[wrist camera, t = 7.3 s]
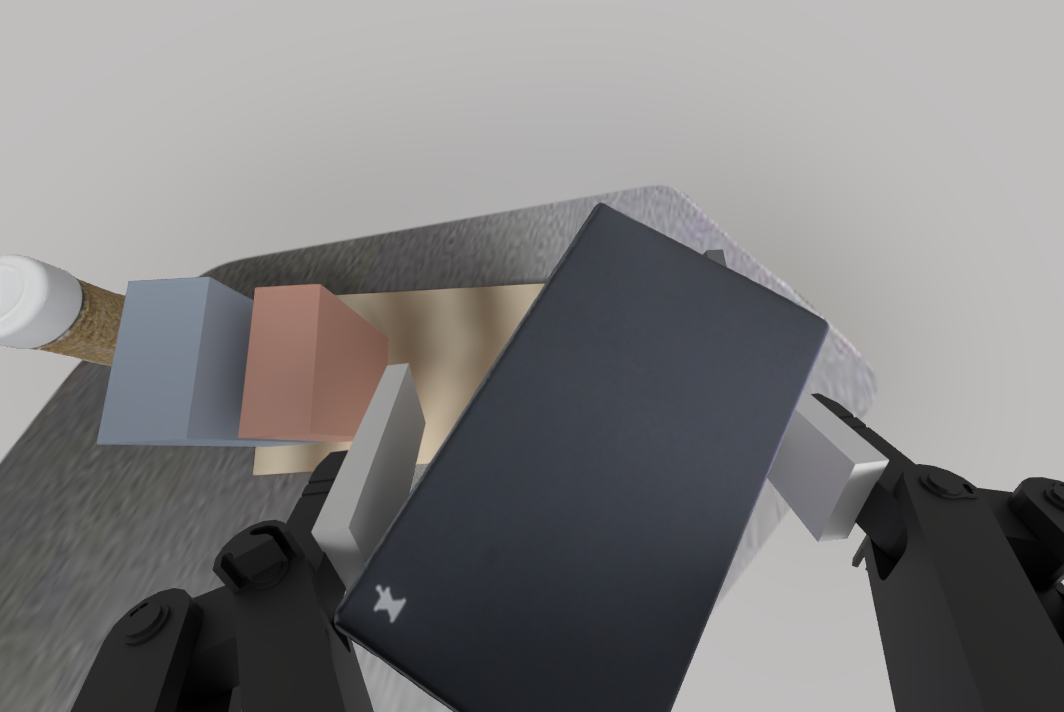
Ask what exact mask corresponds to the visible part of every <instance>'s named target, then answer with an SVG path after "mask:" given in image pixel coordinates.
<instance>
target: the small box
mask: <svg viewBox="0 0 1064 712" xmlns="http://www.w3.org/2000/svg"><path fill="white" fill-rule="evenodd" d="M828 331H829V324H828V323H827V322H826V320H824V319H822V318H820V317H819V316H817V315H815V314H814V313H812V312H810V311H809V310H807V309H805V308H803V307H802V306H800V305H798V304H796V303H795V302H793V301H791V300H789V299H787V298H785V297H783V296H781V295H779V294H777V293H775V292H773V291H772V290H770V289H768V288H767V287H765V286H763V285H761V284H758V283H756V282H754V281H752V280H750V279H749V278H747V277H746V276H743V275H741V274H739V273H737V272H735V271H733V270H731V269H729V268H727V267H726V266H724V265H723V264H721V263H719V262H716V261H714V260H712V259H710V258H708V257H706V256H704V255H702V254H700V253H698V252H696V251H695V250H693V249H691V248H689V247H687V246H685V245H683V244H681V243H679V242H677V241H675V240H674V239H672V238H670V237H668V236H666V235H664V234H662V233H660V232H658V231H656V230H654V229H652V228H650V227H648V226H646V225H644V224H642V223H640V222H638V221H636V220H634V219H632V218H630V217H629V216H627V215H625V214H623V213H621V212H619V211H617V210H615V209H613V208H611V207H609V206H608V205H606V204H604V203H601V202H600V203H599V204H597V205H596V206H595V207H594V209H593V210H592V212H591V214H590V215H589V217H588V218H587V220H586V221H585V223H584V224H583V226H582V227H581V229H580V230H579V232H578V233H577V235H576V237H575V238H574V240H573V241H572V243H571V244H570V246H569V247H568V249H567V250H566V252H565V254H564V255H563V257H562V258H561V260H560V261H559V263H558V264H557V266H556V267H555V269H554V270H553V272H552V273H551V275H550V276H549V278H548V280H547V281H546V283H545V285H544V286H543V288H542V290H541V291H540V293H539V295H538V296H537V297H536V299H535V300H534V301H533V303H532V305H531V306H530V308H529V309H528V311H527V313H526V314H525V316H524V317H523V319H522V320H521V322H520V323H519V325H518V326H517V328H516V329H515V331H514V333H513V334H512V336H511V337H510V339H509V340H508V342H507V343H506V345H505V346H504V348H503V349H502V351H501V352H500V354H499V355H498V357H497V358H496V360H495V361H494V363H493V365H492V366H491V368H490V369H489V371H488V373H487V374H486V376H485V377H484V379H483V381H482V382H481V384H480V385H479V387H478V388H477V390H476V391H475V393H474V394H473V396H472V398H471V400H470V402H469V403H468V404H467V406H466V407H465V409H464V410H463V412H462V413H461V415H460V416H459V418H458V420H457V421H456V423H455V425H454V427H453V428H452V430H451V431H450V433H449V434H448V436H447V437H446V439H445V440H444V442H443V443H442V445H441V446H440V448H439V449H438V451H437V452H436V454H435V455H434V457H433V459H432V460H431V462H430V463H429V465H428V466H427V468H426V470H425V471H424V473H423V475H422V476H421V478H420V479H419V481H418V482H417V484H416V485H415V487H414V488H413V489H412V491H411V493H410V494H409V496H408V497H407V499H406V500H405V502H404V503H403V505H402V506H401V508H400V510H399V511H398V513H397V514H396V516H395V518H394V519H393V521H392V522H391V524H390V525H389V527H388V529H387V530H386V532H385V533H384V535H383V537H382V538H381V540H380V541H379V543H378V544H377V545H376V547H375V548H374V550H373V552H372V555H371V556H370V558H369V559H368V560H367V561H366V563H365V565H364V566H363V568H362V570H361V571H360V573H359V574H358V576H357V577H356V579H355V580H354V582H353V584H352V585H351V587H350V588H349V590H348V591H347V593H346V594H345V596H344V597H343V599H342V600H341V602H340V604H339V605H338V607H337V609H336V611H335V613H334V624H335V628H336V629H337V630H338V631H339V632H340V633H341V634H343V635H345V636H347V637H348V638H350V639H351V640H352V641H354V642H355V643H357V644H358V645H360V646H362V647H363V648H365V649H366V650H367V651H369V652H370V653H371V654H373V655H375V656H377V657H379V658H380V659H381V660H383V661H384V662H385V663H387V664H388V665H389V666H391V667H392V668H393V669H394V670H396V671H397V672H398V673H400V674H401V675H403V676H404V677H406V678H407V679H409V680H410V681H411V682H413V683H414V684H415V685H416V686H418V687H419V688H420V689H422V690H423V691H424V692H426V693H427V694H428V695H430V696H431V697H433V698H434V699H436V700H437V701H439V702H440V703H442V704H443V705H445V706H446V707H448V708H449V709H450V710H452V711H453V712H671V710H672V707H673V704H674V702H675V699H676V697H677V695H678V692H679V690H680V687H681V685H682V682H683V680H684V677H685V675H686V672H687V670H688V667H689V665H690V663H691V660H692V658H693V655H694V653H695V650H696V648H697V646H698V643H699V641H700V638H701V636H702V633H703V631H704V628H705V626H706V624H707V621H708V619H709V616H710V614H711V611H712V609H713V607H714V604H715V602H716V599H717V597H718V594H719V592H720V590H721V587H722V585H723V582H724V580H725V577H726V575H727V573H728V570H729V568H730V565H731V563H732V560H733V558H734V556H735V553H736V551H737V548H738V546H739V543H740V541H741V538H742V536H743V533H744V531H745V529H746V526H747V524H748V521H749V519H750V517H751V514H752V512H753V510H754V507H755V505H756V503H757V500H758V498H759V496H760V493H761V491H762V488H763V486H764V484H765V481H766V479H767V476H768V474H769V472H770V469H771V467H772V464H773V462H774V460H775V457H776V455H777V452H778V450H779V448H780V445H781V443H782V440H783V438H784V436H785V433H786V431H787V428H788V426H789V424H790V421H791V419H792V416H793V414H794V412H795V409H796V407H797V405H798V402H799V400H800V398H801V395H802V393H803V390H804V388H805V386H806V383H807V381H808V379H809V376H810V374H811V371H812V369H813V366H814V364H815V362H816V359H817V357H818V355H819V353H820V351H821V348H822V346H823V343H824V341H825V338H826V336H827V333H828Z"/></svg>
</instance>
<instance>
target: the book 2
mask: <svg viewBox="0 0 1064 712" xmlns="http://www.w3.org/2000/svg"><path fill="white" fill-rule="evenodd" d="M387 365H388V338H387V337H386V336H385V335H384V334H382V333H381V332H380V331H379V330H377V329H376V328H375V327H374V326H372V325H371V324H370V323H369V322H367V321H366V320H365V319H364V318H362V317H361V316H360V315H359V314H357V313H356V312H355V311H354V310H352V309H351V308H350V307H349V306H347V305H346V304H345V303H344V302H342V301H341V300H340V299H339V298H337V297H336V296H335V295H334V294H332V293H331V292H330V291H329V290H327V289H326V288H325V287H324V286H322V285H321V284H309V285H292V286H274V287H256V288H255V294H254V303H253V312H252V321H251V330H250V338H249V347H248V356H247V365H246V374H245V383H244V392H243V400H242V409H241V418H240V427H239V436H238V438H255V439H277V440H300V441H323V442H351V441H353V439H354V437H355V435H356V433H357V431H358V428H359V426H360V424H361V422H362V420H363V417H364V415H365V413H366V411H367V409H368V407H369V404H370V402H371V400H372V398H373V396H374V393H375V391H376V389H377V387H378V385H379V382H380V380H381V378H382V376H383V374H384V371H385V369H386V367H387Z"/></svg>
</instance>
